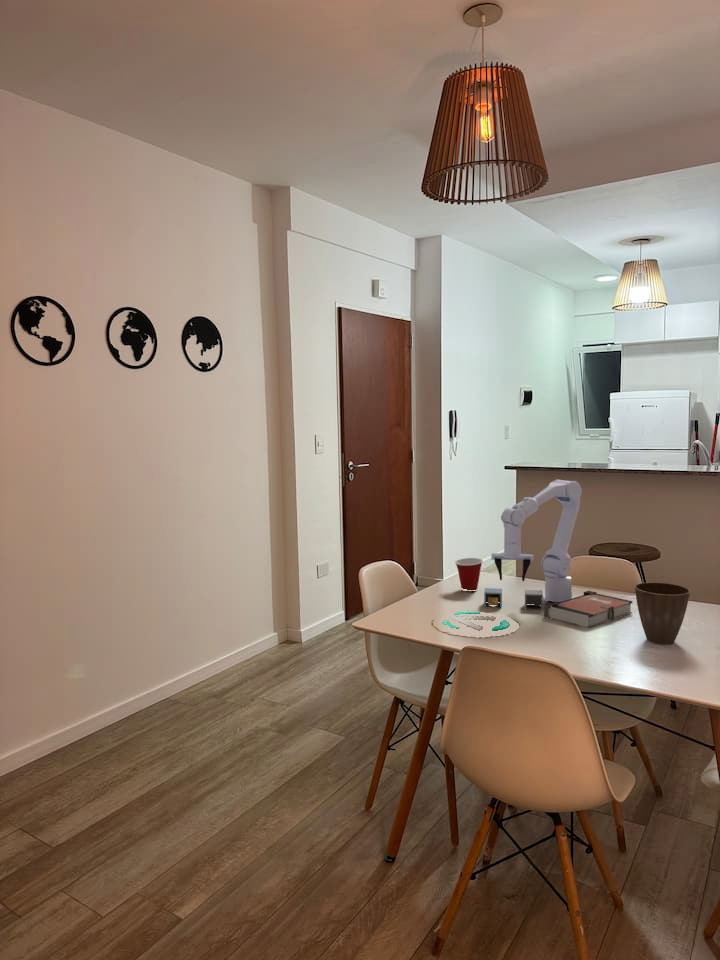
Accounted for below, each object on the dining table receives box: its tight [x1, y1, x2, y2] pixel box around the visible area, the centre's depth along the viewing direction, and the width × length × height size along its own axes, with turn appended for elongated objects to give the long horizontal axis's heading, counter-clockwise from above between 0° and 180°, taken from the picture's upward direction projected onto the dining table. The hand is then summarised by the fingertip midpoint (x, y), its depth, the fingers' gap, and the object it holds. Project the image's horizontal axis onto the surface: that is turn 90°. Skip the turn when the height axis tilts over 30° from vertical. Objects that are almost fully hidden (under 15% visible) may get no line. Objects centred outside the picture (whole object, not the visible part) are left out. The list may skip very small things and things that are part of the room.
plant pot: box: [634, 581, 691, 646], centre depth 201 cm, size 15×15×16 cm
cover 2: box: [524, 589, 544, 610], centre depth 239 cm, size 6×6×6 cm
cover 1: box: [483, 587, 503, 608], centre depth 242 cm, size 6×6×6 cm
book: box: [543, 590, 633, 629], centre depth 229 cm, size 26×18×5 cm
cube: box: [487, 595, 499, 607], centre depth 242 cm, size 4×4×4 cm
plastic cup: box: [454, 557, 484, 590], centre depth 263 cm, size 11×11×12 cm
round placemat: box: [442, 610, 510, 631], centre depth 221 cm, size 28×28×2 cm
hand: (512, 580), depth 240 cm, fingers open, 7 cm apart
